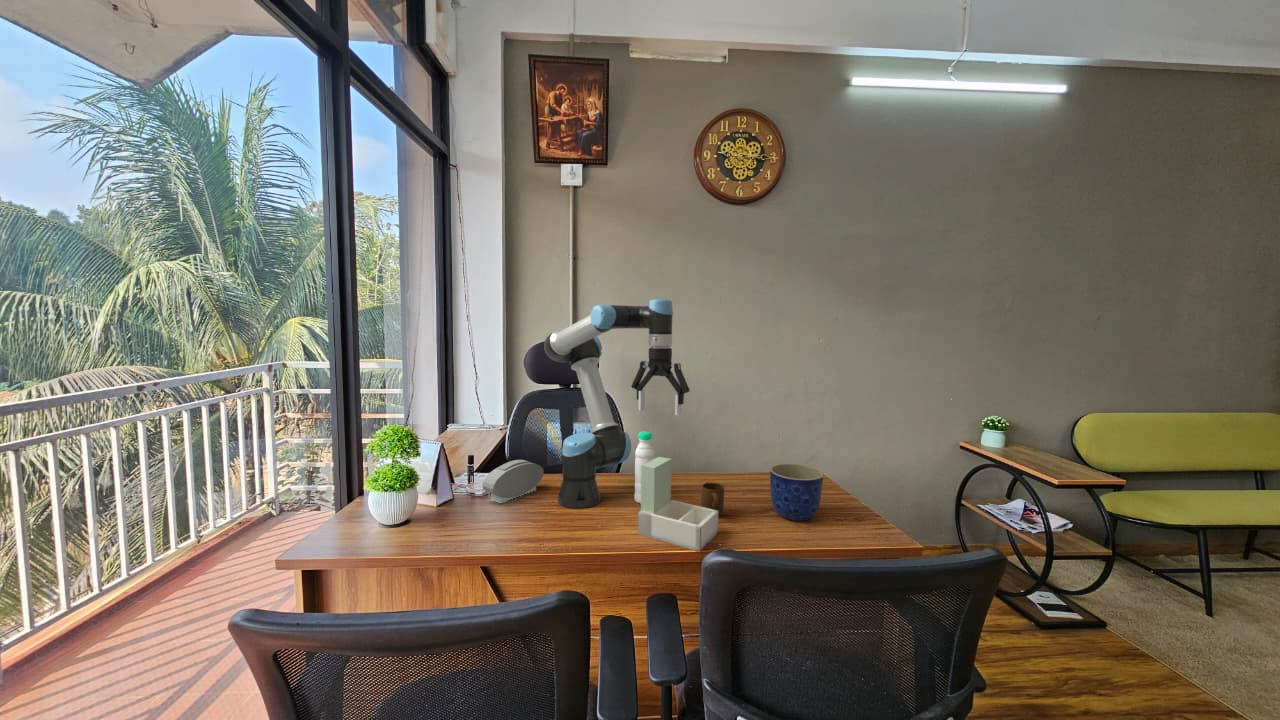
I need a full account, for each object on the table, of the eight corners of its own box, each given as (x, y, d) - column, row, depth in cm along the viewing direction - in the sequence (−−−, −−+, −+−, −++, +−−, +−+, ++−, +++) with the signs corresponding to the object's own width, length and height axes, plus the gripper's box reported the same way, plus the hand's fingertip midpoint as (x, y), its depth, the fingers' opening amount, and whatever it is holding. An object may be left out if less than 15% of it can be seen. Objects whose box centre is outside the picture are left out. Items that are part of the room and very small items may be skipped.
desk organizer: (638, 534, 143) (638, 505, 142) (660, 518, 155) (660, 491, 154) (699, 551, 133) (700, 520, 132) (717, 532, 145) (718, 504, 144)
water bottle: (656, 498, 172) (657, 431, 170) (650, 505, 165) (651, 435, 163) (638, 496, 174) (639, 429, 172) (631, 503, 167) (632, 433, 165)
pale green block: (640, 510, 143) (641, 465, 142) (658, 498, 153) (658, 456, 152) (653, 513, 141) (654, 467, 140) (670, 501, 151) (671, 458, 149)
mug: (727, 523, 151) (728, 495, 150) (704, 523, 151) (704, 495, 150) (721, 509, 163) (722, 482, 162) (699, 508, 163) (700, 482, 162)
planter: (759, 515, 158) (760, 471, 156) (782, 501, 170) (783, 460, 169) (808, 531, 146) (810, 483, 145) (829, 515, 159) (831, 471, 157)
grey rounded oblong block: (532, 485, 185) (532, 453, 184) (543, 488, 181) (543, 456, 180) (482, 503, 166) (481, 467, 165) (493, 507, 162) (492, 471, 161)
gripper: (621, 346, 156) (621, 409, 158) (690, 349, 143) (689, 418, 145) (633, 345, 162) (633, 406, 164) (700, 348, 150) (699, 414, 151)
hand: (659, 412), depth 155 cm, fingers open, 13 cm apart
